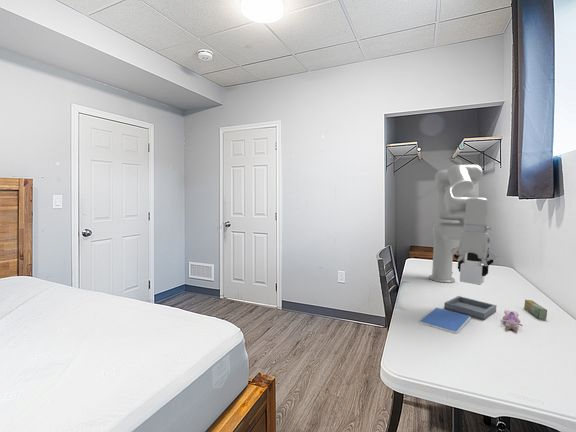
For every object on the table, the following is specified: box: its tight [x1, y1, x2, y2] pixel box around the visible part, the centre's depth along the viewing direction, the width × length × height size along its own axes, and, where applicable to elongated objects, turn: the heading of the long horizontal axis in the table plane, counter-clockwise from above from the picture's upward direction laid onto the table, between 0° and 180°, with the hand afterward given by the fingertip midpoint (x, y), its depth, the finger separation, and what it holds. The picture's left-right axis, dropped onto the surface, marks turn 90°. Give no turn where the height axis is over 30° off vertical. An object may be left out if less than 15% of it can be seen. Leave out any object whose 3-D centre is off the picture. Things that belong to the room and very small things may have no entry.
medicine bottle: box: [459, 253, 485, 286], centre depth 118 cm, size 7×7×12 cm
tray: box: [443, 295, 498, 321], centre depth 119 cm, size 14×14×2 cm
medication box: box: [523, 299, 548, 320], centre depth 117 cm, size 12×3×4 cm, turn 163°
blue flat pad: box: [418, 307, 472, 335], centre depth 109 cm, size 19×13×1 cm, turn 136°
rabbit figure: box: [500, 309, 524, 333], centre depth 106 cm, size 6×6×15 cm
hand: (472, 273), depth 118 cm, fingers closed on medicine bottle, 7 cm apart
